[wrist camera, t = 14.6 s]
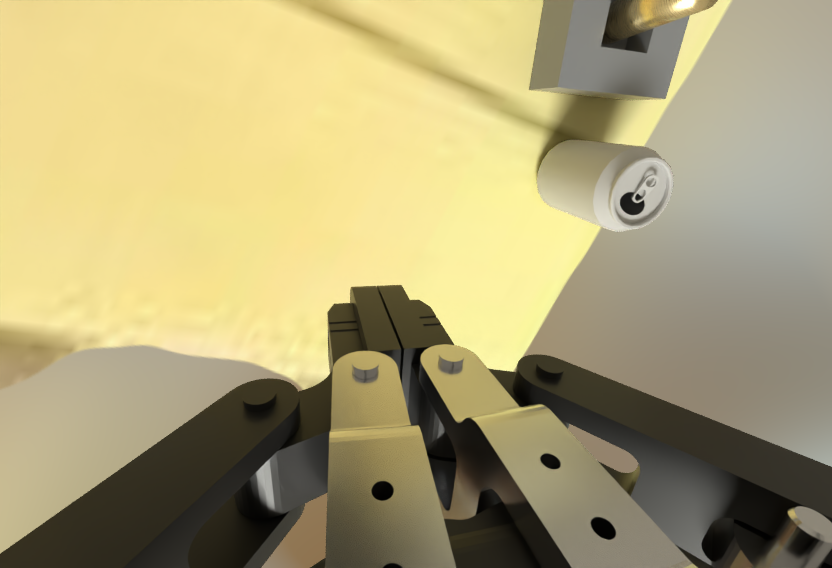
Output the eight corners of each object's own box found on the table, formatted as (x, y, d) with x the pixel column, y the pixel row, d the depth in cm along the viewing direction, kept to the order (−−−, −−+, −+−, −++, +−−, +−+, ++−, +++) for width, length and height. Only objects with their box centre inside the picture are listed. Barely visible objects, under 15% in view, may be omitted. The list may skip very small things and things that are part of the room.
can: (520, 191, 43) (590, 217, 33) (555, 126, 41) (642, 131, 31) (568, 217, 46) (647, 249, 36) (604, 157, 44) (698, 172, 34)
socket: (554, -62, 34) (590, -87, 30) (662, -38, 37) (710, -57, 33) (529, 89, 39) (557, 87, 35) (627, 100, 42) (665, 98, 38)
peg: (596, 3, 36) (692, -48, 26) (626, 5, 36) (730, -43, 27) (591, 43, 37) (681, 8, 27) (620, 45, 37) (718, 12, 28)
